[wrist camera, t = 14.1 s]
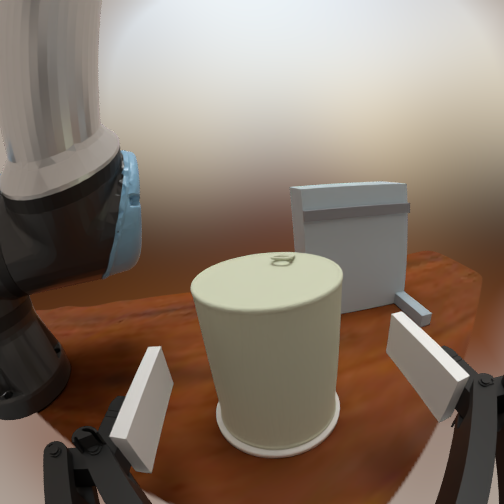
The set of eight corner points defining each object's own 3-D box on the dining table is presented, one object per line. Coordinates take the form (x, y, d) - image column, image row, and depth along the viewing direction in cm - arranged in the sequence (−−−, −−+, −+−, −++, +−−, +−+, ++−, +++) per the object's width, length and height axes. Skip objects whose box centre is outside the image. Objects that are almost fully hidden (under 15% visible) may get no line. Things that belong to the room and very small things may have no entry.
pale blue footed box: (429, 324, 27) (440, 187, 23) (322, 350, 27) (318, 192, 23) (381, 283, 41) (381, 181, 37) (297, 296, 41) (289, 187, 36)
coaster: (204, 453, 16) (202, 449, 16) (229, 373, 25) (229, 368, 25) (345, 454, 14) (346, 450, 14) (333, 369, 24) (333, 364, 24)
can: (346, 379, 21) (353, 246, 18) (315, 463, 14) (324, 310, 10) (252, 363, 26) (236, 244, 22) (199, 427, 18) (155, 288, 15)
